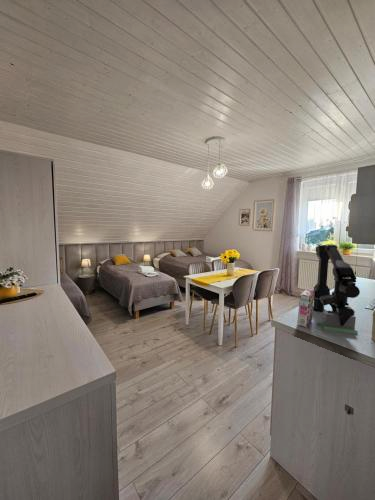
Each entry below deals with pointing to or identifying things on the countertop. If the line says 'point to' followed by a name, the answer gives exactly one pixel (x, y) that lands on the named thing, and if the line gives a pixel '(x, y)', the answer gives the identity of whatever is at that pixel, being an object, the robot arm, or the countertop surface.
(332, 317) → the grey cinder block
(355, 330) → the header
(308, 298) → the candy bar box
